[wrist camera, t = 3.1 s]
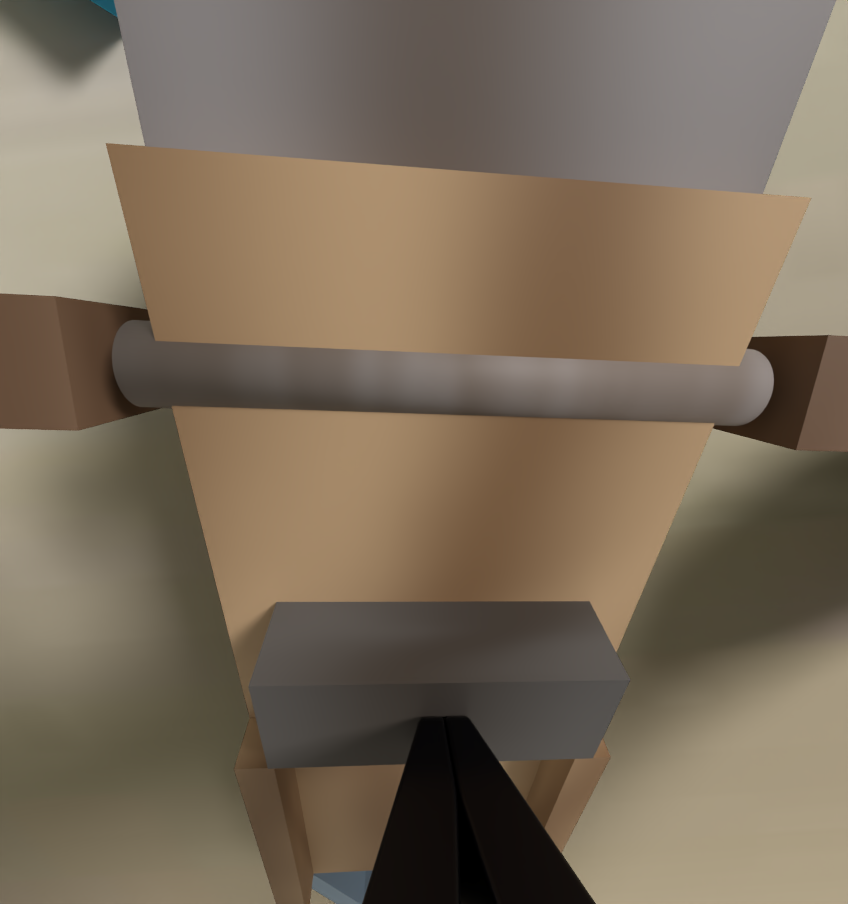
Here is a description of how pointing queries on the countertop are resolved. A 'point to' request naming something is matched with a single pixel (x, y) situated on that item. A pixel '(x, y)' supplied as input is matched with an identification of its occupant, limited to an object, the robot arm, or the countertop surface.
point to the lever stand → (101, 401)
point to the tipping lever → (445, 356)
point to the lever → (106, 5)
